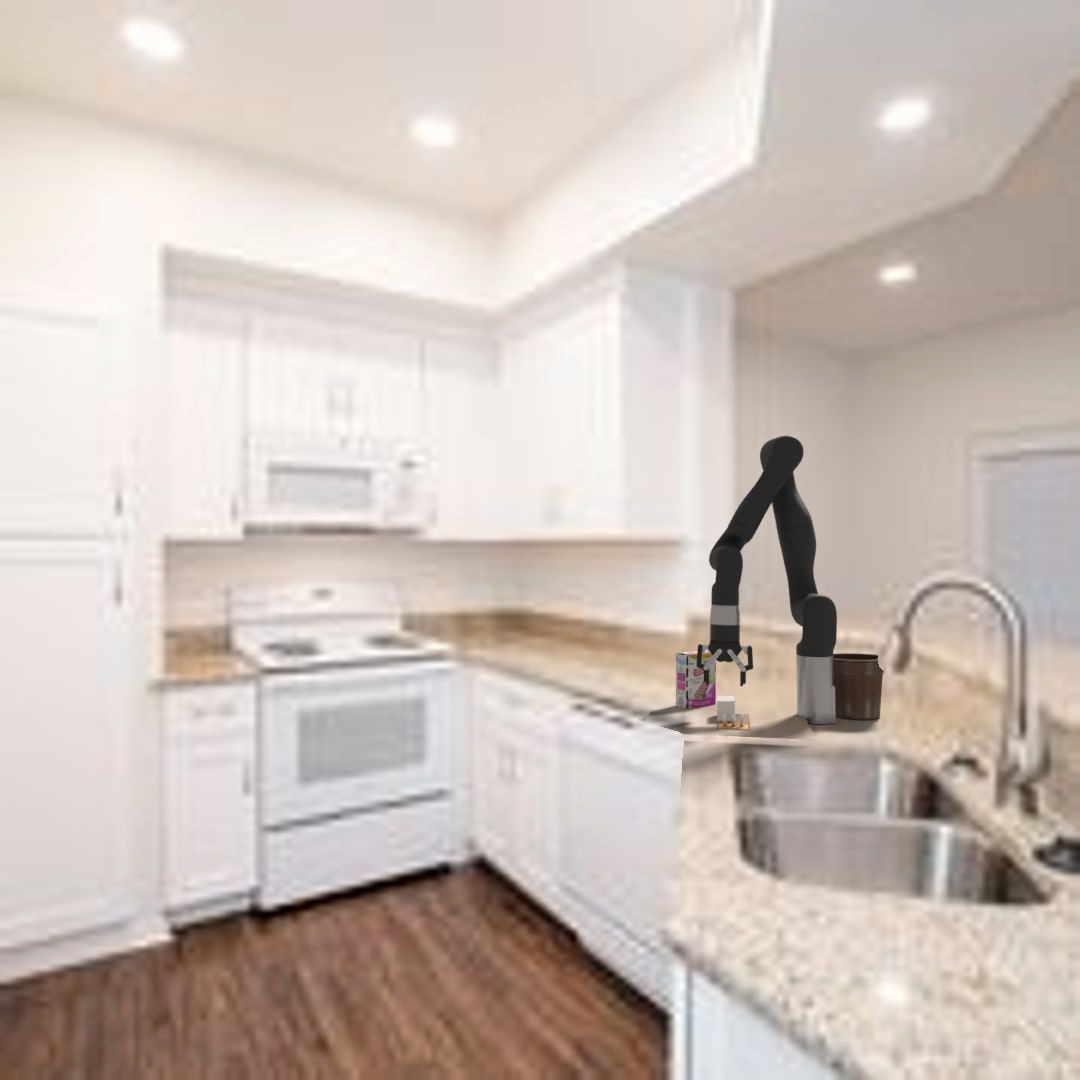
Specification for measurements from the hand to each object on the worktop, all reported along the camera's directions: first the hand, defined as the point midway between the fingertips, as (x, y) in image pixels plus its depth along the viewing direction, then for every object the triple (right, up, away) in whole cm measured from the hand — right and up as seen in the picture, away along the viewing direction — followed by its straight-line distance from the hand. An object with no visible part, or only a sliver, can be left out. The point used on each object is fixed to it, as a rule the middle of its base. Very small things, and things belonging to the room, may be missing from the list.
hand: (724, 685), depth 208 cm
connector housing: (0, -9, 0) cm, 9 cm away
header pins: (0, -8, -10) cm, 13 cm away
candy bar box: (-4, -11, +18) cm, 21 cm away
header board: (+1, -10, -4) cm, 11 cm away
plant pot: (+37, -10, +9) cm, 40 cm away
